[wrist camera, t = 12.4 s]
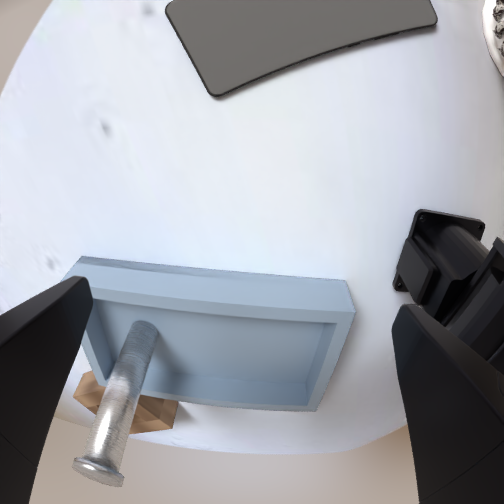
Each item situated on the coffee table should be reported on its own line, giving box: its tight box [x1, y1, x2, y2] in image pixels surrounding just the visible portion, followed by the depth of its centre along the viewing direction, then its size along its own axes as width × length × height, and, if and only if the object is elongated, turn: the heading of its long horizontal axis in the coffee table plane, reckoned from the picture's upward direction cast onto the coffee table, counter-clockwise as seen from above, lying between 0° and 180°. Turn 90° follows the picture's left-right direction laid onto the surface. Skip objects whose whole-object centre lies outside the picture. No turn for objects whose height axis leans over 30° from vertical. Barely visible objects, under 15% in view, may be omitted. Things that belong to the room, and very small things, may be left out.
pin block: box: [73, 371, 178, 434], centre depth 29 cm, size 8×8×4 cm
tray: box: [61, 256, 356, 412], centre depth 24 cm, size 20×12×4 cm, turn 86°
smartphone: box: [165, 0, 438, 97], centre depth 13 cm, size 7×1×15 cm
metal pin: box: [72, 320, 159, 487], centre depth 19 cm, size 3×3×13 cm
